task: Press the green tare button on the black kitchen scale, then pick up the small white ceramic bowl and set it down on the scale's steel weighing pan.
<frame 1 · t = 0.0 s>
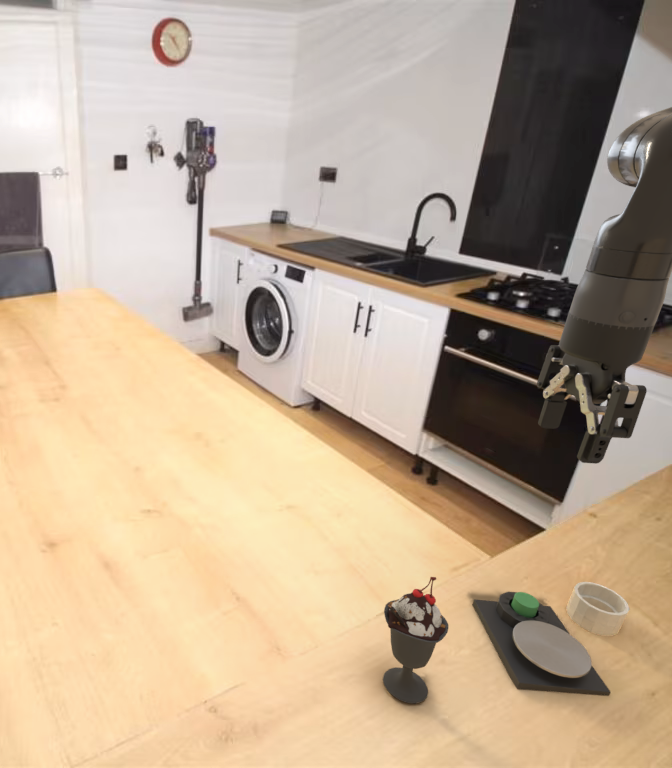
hand: (566, 443, 66), 26 cm above the table, tool pointing down, fingers open, 8 cm apart
tare button: (525, 604, 72), point 4 cm above the table, slide at 0.2 cm
scale pan: (543, 666, 67), resting on scale
bowl: (590, 622, 73), on the table
sundae: (404, 686, 65), on the table
scale: (532, 649, 70), on the table
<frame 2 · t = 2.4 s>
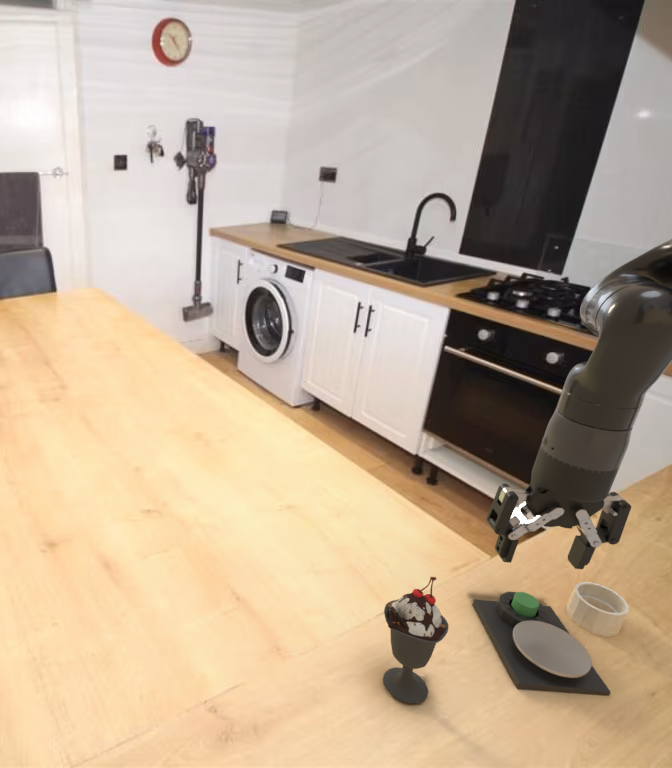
hand: (539, 561, 69), 11 cm above the table, tool pointing down, fingers open, 8 cm apart
nothing on the table moved.
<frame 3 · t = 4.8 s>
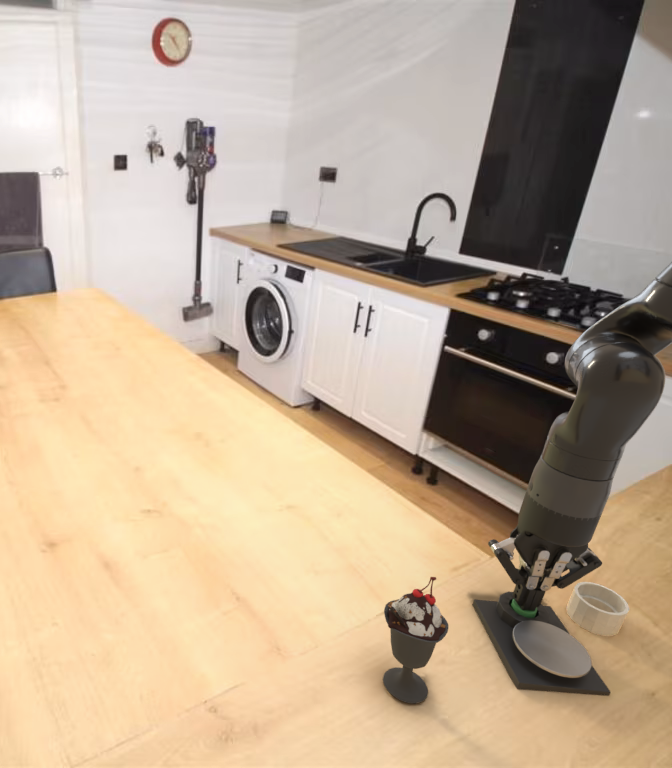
hand: (524, 605, 72), 4 cm above the table, tool pointing down, fingers closed
tare button: (523, 609, 72), point 3 cm above the table, slide at -0.7 cm, touching gripper
everything else where it was.
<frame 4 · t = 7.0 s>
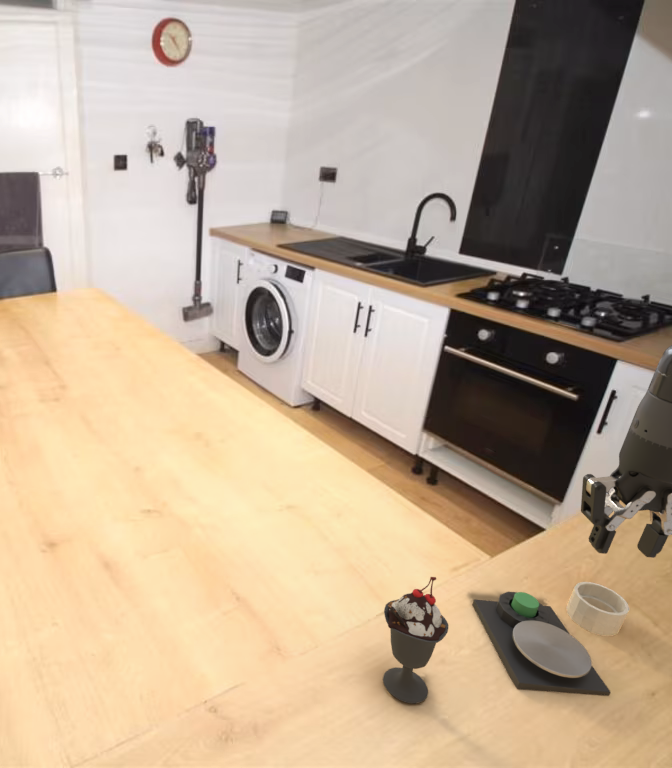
hand: (621, 550, 69), 12 cm above the table, tool pointing down, fingers open, 5 cm apart
tare button: (524, 604, 72), point 4 cm above the table, slide at 0.2 cm
everything else where it was.
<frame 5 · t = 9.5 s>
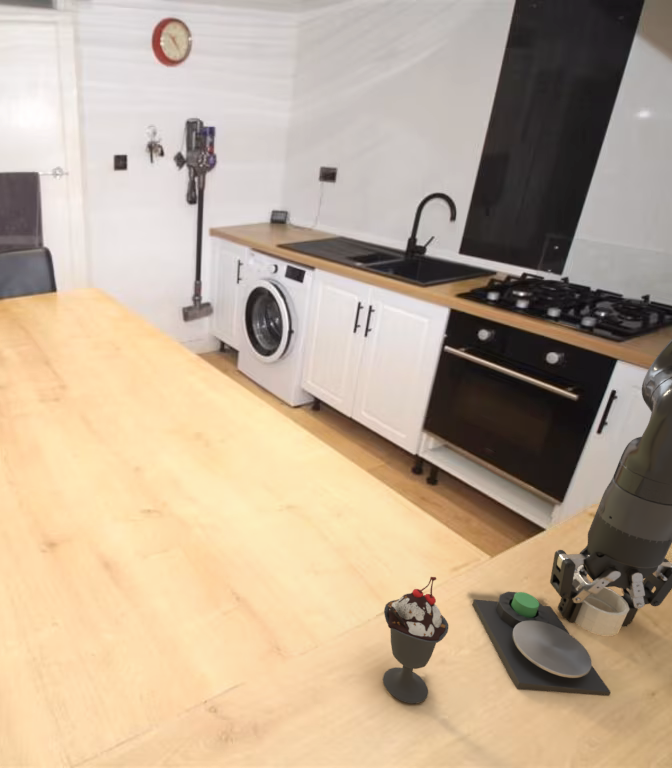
hand: (592, 619, 73), 1 cm above the table, tool pointing down, fingers closed on bowl, 6 cm apart
bowl: (590, 622, 73), on the table, touching gripper
everything else where it was.
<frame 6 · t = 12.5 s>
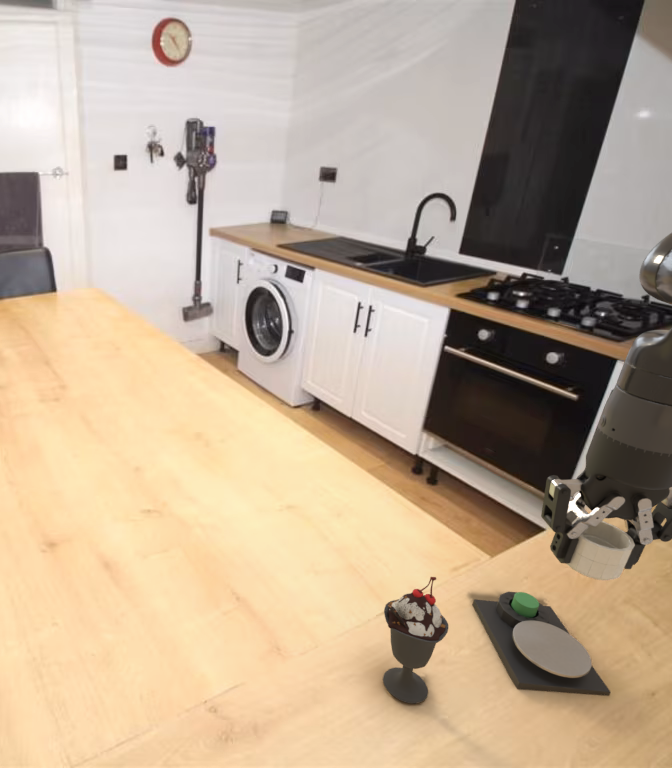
hand: (590, 560, 62), 16 cm above the table, tool pointing down, fingers closed on bowl, 6 cm apart
bowl: (588, 564, 62), point 15 cm above the table, touching gripper
everything else where it was.
when the fingers open (4 cm above the table, at t = 15.8 s): bowl stays where it is, resting on scale pan.
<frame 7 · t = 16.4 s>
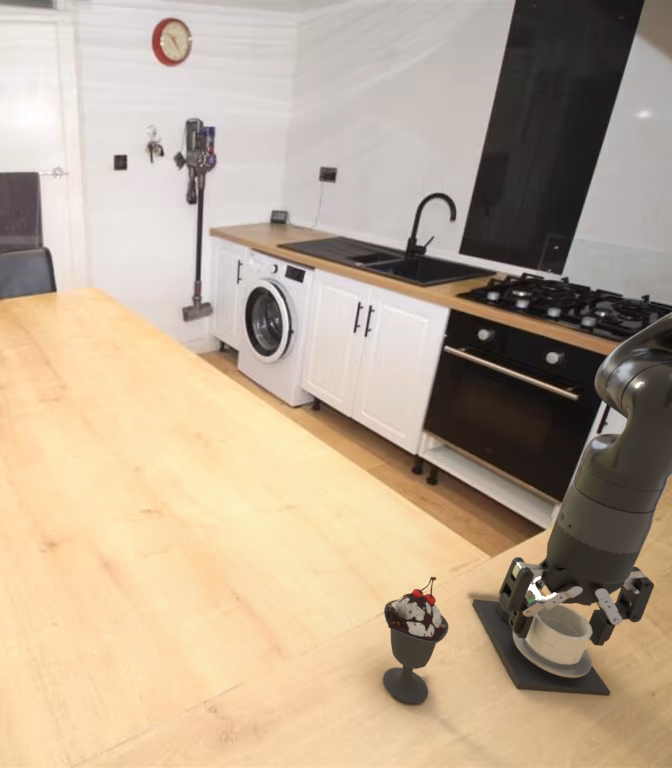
hand: (555, 636, 65), 5 cm above the table, tool pointing down, fingers open, 8 cm apart
bowl: (550, 646, 66), point 3 cm above the table, touching scale pan
everything else where it was.
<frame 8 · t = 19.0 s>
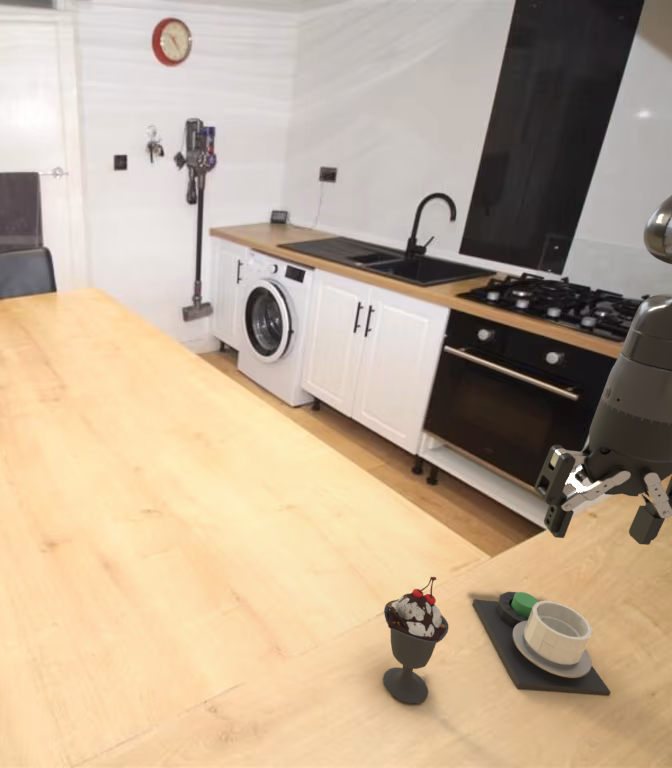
hand: (596, 536, 59), 20 cm above the table, tool pointing down, fingers open, 8 cm apart
nothing on the table moved.
at the end: tare button pushed in 0.9 cm at the most during the clip, back to 0.2 cm at the end; bowl 0.1 cm from the target spot on the scale, point 3.4 cm above the scale's base; bowl tilted 0° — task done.
